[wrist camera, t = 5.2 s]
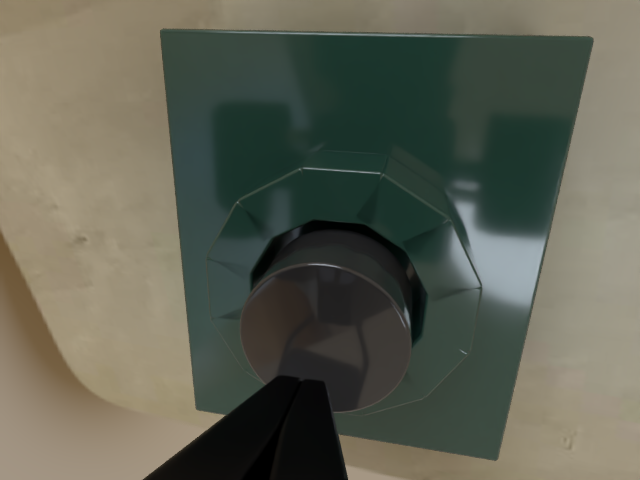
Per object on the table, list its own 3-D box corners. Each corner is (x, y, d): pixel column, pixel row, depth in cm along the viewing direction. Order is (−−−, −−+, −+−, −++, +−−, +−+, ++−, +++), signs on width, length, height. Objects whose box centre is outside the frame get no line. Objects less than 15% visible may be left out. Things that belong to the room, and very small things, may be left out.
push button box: (481, 379, 18) (510, 522, 12) (236, 345, 19) (165, 457, 14) (546, 42, 13) (639, 30, 8) (221, 36, 15) (107, 21, 9)
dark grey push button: (404, 367, 12) (402, 426, 10) (268, 348, 12) (241, 400, 10) (420, 235, 10) (421, 273, 8) (266, 221, 11) (234, 254, 9)
